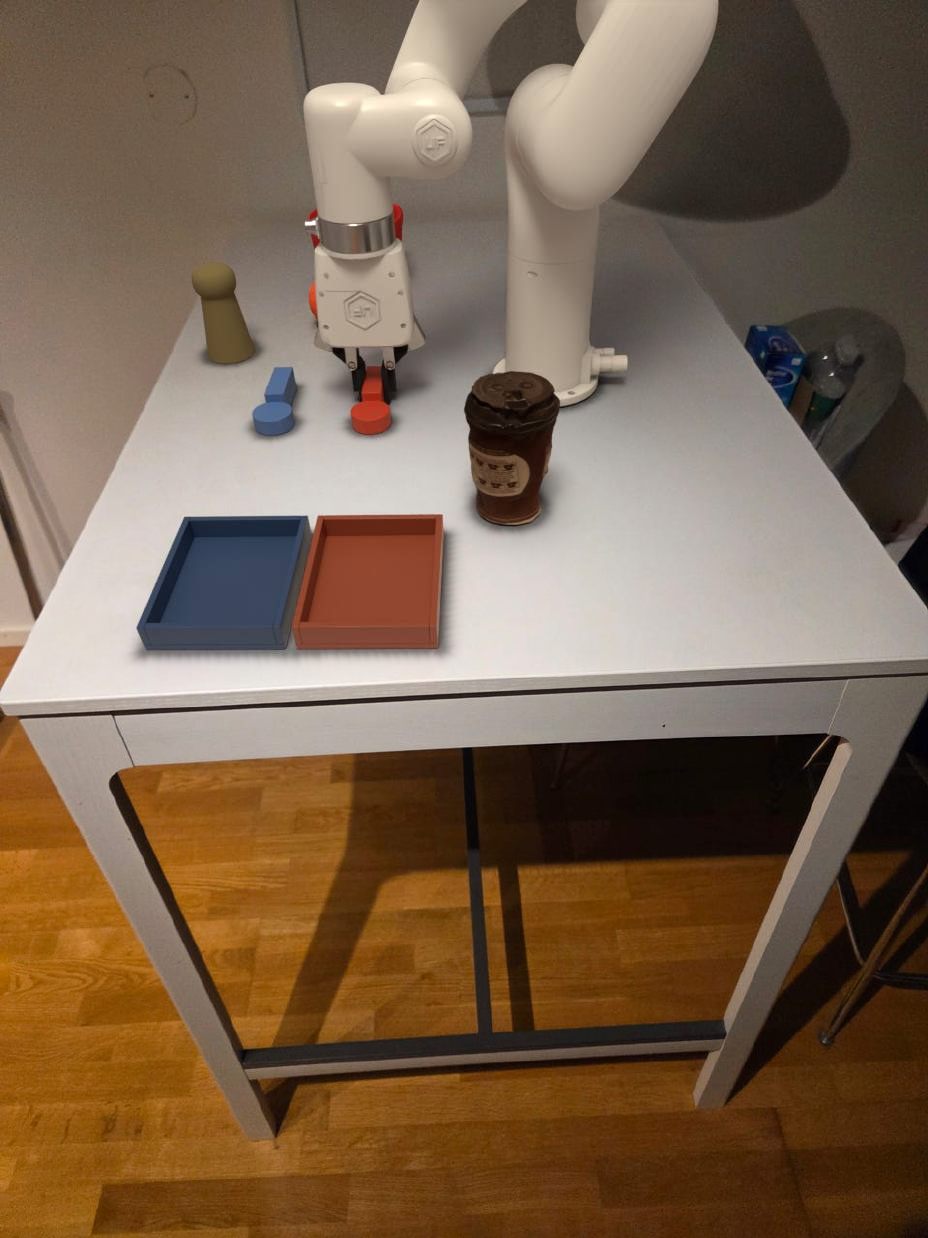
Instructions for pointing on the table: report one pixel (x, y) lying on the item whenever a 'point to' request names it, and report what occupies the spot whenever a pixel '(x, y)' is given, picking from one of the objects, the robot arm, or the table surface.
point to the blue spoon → (277, 404)
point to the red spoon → (371, 405)
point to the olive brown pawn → (222, 314)
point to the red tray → (371, 583)
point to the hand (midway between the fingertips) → (375, 394)
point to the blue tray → (228, 584)
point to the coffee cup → (510, 443)
